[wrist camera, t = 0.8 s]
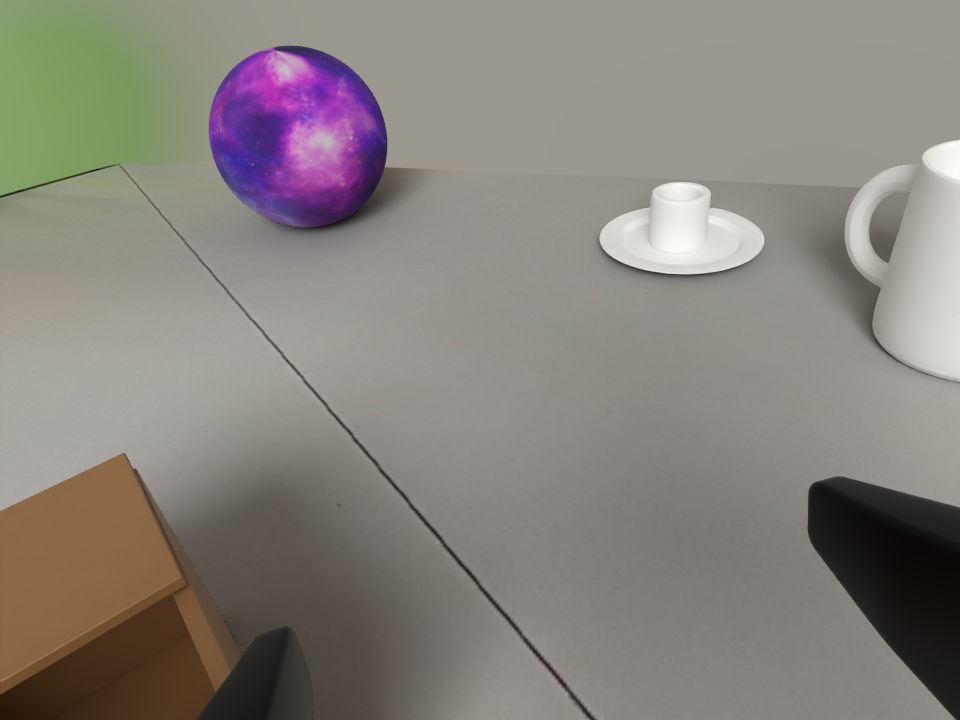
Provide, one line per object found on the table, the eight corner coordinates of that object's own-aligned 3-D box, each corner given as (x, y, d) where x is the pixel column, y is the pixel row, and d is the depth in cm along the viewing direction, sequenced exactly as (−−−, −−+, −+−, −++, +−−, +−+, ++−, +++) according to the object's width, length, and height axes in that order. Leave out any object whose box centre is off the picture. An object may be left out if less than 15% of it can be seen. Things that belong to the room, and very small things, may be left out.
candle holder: (716, 204, 54) (722, 154, 51) (796, 266, 44) (808, 208, 42) (580, 226, 53) (579, 176, 51) (631, 295, 43) (634, 237, 41)
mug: (784, 308, 40) (819, 145, 34) (874, 270, 43) (921, 113, 37) (982, 410, 31) (1075, 213, 25) (1080, 354, 34) (1186, 164, 28)
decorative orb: (221, 264, 54) (151, 78, 45) (263, 199, 66) (213, 42, 57) (395, 245, 54) (357, 53, 45) (404, 183, 66) (376, 23, 57)
